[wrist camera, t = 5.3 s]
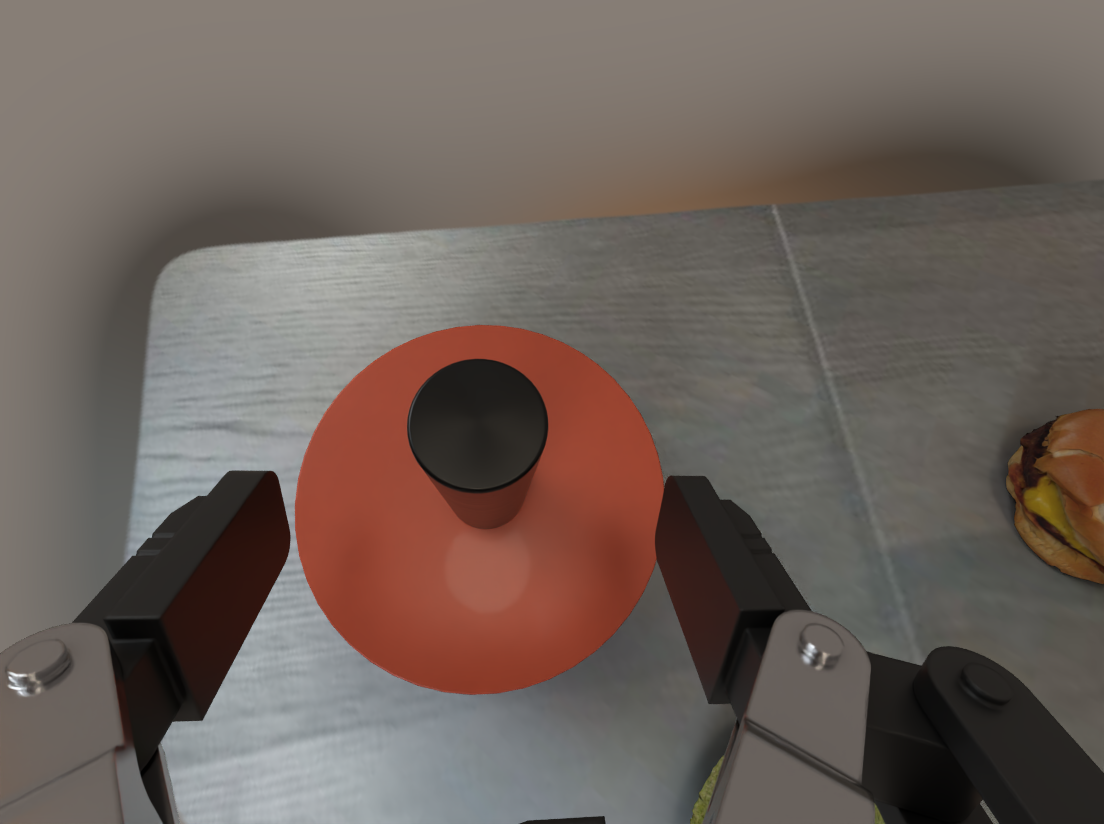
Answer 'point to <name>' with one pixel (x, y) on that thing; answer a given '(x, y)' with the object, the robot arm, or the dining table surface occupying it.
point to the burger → (1063, 493)
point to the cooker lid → (479, 509)
